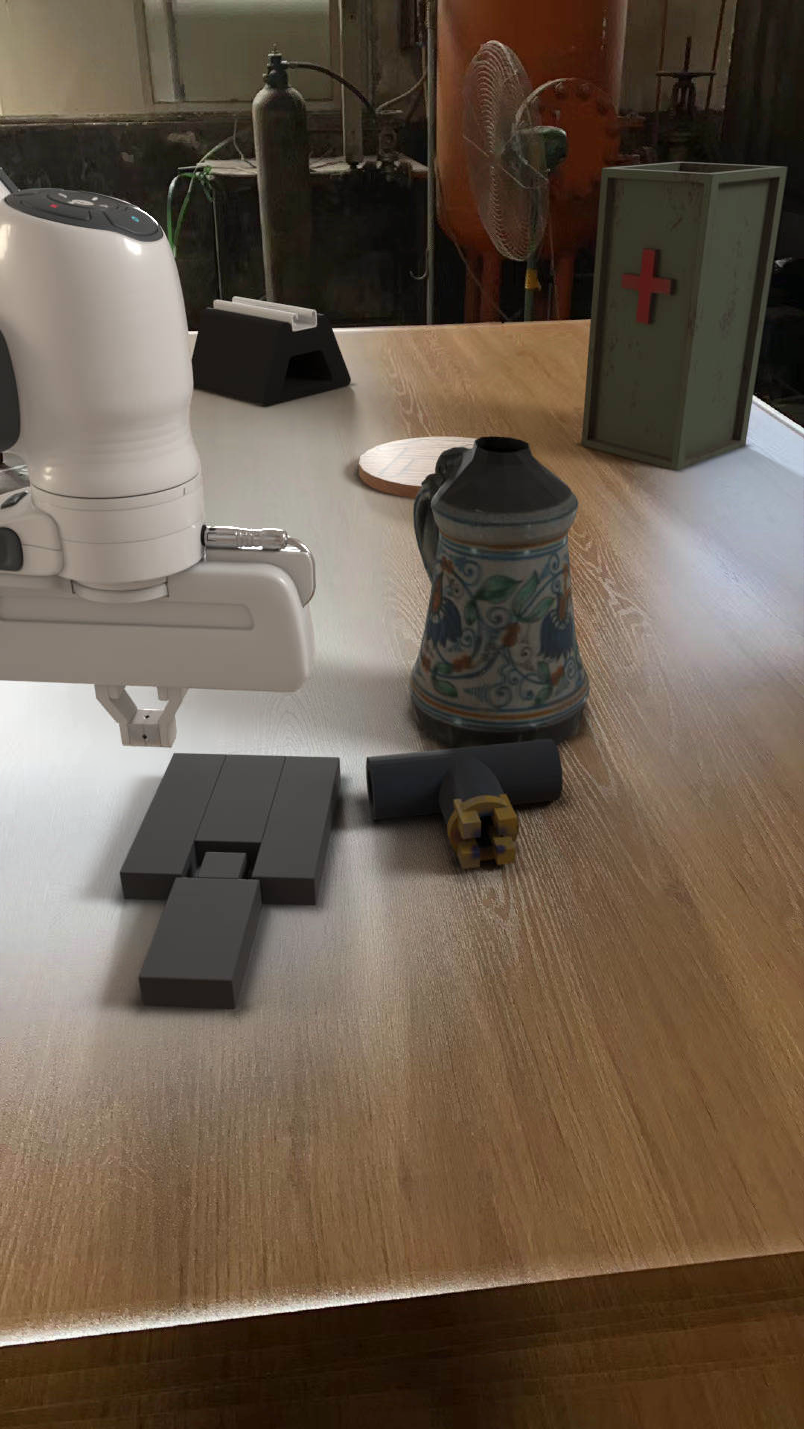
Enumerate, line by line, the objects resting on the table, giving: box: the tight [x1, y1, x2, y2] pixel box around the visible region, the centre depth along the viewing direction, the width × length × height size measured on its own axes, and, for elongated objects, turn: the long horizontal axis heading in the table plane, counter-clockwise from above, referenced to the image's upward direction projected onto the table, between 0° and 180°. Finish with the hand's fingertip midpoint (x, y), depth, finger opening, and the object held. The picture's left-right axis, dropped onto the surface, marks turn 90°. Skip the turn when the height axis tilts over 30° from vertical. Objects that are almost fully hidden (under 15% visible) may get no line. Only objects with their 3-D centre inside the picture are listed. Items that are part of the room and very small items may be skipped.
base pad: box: [119, 752, 342, 906], centre depth 84 cm, size 14×16×2 cm
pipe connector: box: [365, 739, 563, 870], centre depth 84 cm, size 12×5×15 cm
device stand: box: [191, 296, 352, 407], centre depth 208 cm, size 22×22×15 cm
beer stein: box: [408, 435, 590, 749], centre depth 96 cm, size 16×19×25 cm
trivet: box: [358, 436, 477, 499], centre depth 163 cm, size 25×25×2 cm
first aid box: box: [581, 161, 788, 471], centre depth 164 cm, size 18×18×40 cm
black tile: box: [138, 852, 263, 1010], centre depth 74 cm, size 6×13×2 cm, turn 177°
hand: (150, 742), depth 66 cm, fingers closed
